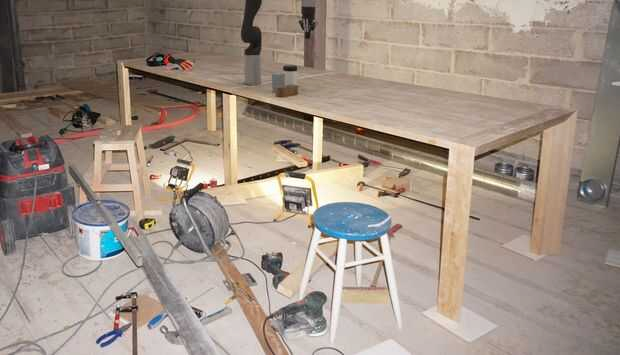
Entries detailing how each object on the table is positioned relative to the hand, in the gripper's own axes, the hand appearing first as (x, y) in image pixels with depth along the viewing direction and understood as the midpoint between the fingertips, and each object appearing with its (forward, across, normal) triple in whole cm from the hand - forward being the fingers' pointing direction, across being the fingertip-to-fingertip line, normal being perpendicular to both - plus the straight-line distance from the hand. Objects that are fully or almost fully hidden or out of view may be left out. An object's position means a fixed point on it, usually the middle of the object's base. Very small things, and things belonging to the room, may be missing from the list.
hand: (307, 38), depth 304 cm
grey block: (+28, -5, -16) cm, 33 cm away
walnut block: (+25, +6, -14) cm, 30 cm away
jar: (+28, -12, -1) cm, 31 cm away
